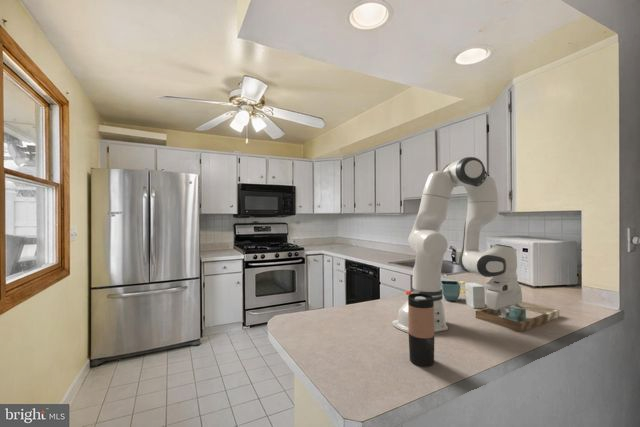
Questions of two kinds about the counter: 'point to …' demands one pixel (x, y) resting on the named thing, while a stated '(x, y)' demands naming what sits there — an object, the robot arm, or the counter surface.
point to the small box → (475, 295)
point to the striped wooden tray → (522, 326)
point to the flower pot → (450, 290)
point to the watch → (463, 283)
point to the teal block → (517, 314)
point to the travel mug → (421, 329)
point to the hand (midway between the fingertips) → (505, 316)
